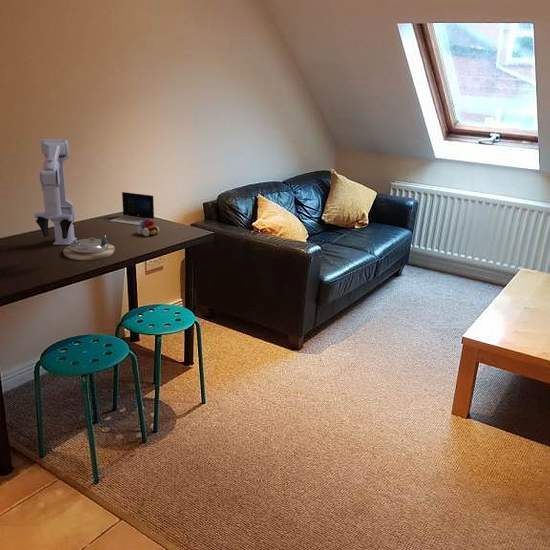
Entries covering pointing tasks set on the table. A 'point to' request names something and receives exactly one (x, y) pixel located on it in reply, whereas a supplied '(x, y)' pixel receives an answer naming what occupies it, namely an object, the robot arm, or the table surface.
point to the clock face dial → (89, 245)
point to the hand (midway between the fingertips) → (55, 237)
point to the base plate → (95, 256)
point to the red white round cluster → (147, 228)
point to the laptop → (136, 208)
